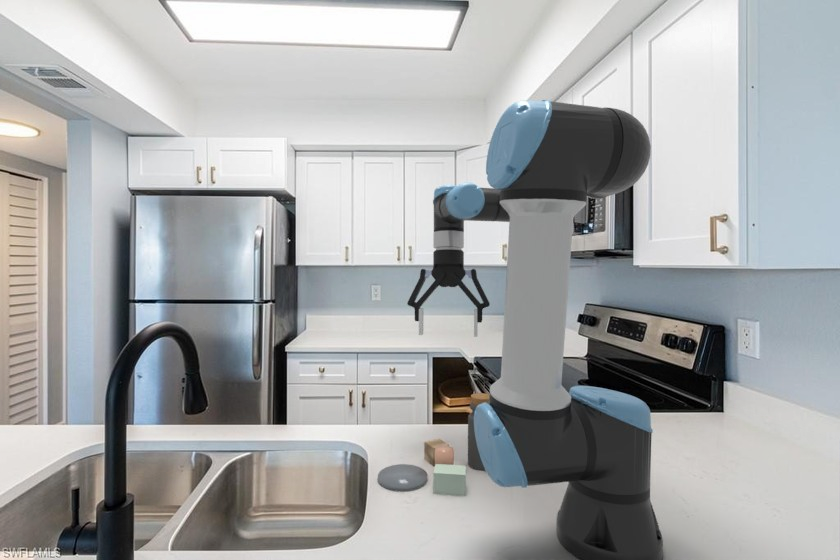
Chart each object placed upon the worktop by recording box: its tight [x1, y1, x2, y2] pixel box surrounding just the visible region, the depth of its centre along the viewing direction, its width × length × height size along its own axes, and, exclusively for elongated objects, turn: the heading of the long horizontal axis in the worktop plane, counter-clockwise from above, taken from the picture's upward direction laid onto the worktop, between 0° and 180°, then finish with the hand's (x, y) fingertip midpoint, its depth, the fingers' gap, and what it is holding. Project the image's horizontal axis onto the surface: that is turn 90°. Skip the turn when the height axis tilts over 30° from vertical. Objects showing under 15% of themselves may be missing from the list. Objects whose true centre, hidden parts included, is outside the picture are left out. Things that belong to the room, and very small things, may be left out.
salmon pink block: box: [435, 445, 455, 465], centre depth 90 cm, size 4×4×5 cm
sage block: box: [432, 464, 467, 496], centre depth 83 cm, size 4×6×4 cm, turn 83°
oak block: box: [423, 438, 450, 467], centre depth 96 cm, size 4×4×4 cm
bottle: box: [467, 392, 490, 471], centre depth 94 cm, size 6×6×15 cm
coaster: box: [377, 463, 429, 492], centre depth 87 cm, size 10×10×1 cm
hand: (448, 335), depth 107 cm, fingers open, 13 cm apart
